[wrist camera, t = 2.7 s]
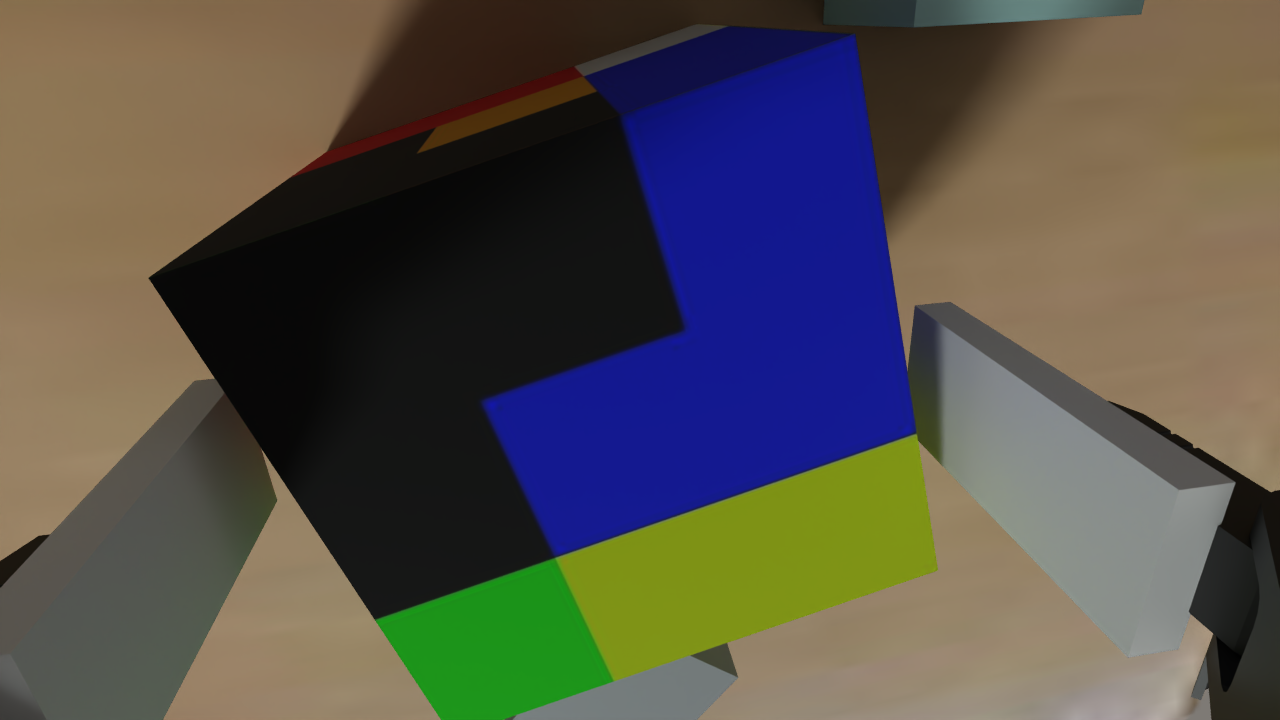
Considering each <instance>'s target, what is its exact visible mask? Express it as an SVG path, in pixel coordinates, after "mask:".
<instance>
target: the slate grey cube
mask: <svg viewBox="0 0 1280 720" xmlns="http://www.w3.org/2000/svg"><path fill="white" fill-rule="evenodd" d="M737 678H738V676H737V673H736V669H735V666H734V663H733V660H732V657H731V654H730V651H729V648H728V645H727V643H725V644H722V645H719V646H716V647H713V648H710V649H708V650H705V651H702V652H699V653H696V654H693V655H690V656H687V657H684V658H681V659H678V660H675V661H673V662H670V663H667V664H664V665H661V666H658V667H655V668H652V669H649V670H646V671H643V672H641V673H638V674H635V675H632V676H629V677H626V678H623V679H620V680H617V681H614V682H611V683H608V684H606V685H603V686H600V687H597V688H594V689H591V690H588V691H585V692H582V693H579V694H576V695H573V696H571V697H568V698H565V699H562V700H559V701H556V702H553V703H550V704H547V705H544V706H541V707H538V708H536V709H533V710H530V711H527V712H524V713H521V714H518V715H515V716H512V717H509V718H506V719H504V720H697V719H698V718H699V717H700V716H701V715H702V714H703V713H704V712H705V711H706V710H707V709H708V708H709V707H710V706H711V705H712V704H713V703H714V702H715V701H716V700H717V699H718V698H719V697H720V696H721V695H722V694H723V693H724V692H725V691H726V689H727V688H728V687H729V686H730V685H731V684H732V683H733V682H734V681H735V680H736V679H737Z"/></svg>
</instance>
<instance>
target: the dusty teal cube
mask: <svg viewBox="0 0 1280 720" xmlns="http://www.w3.org/2000/svg"><path fill="white" fill-rule="evenodd" d="M1143 4H1144V0H824V18H823V24H824V25H855V26H886V27H929V26H947V25H964V24H982V23H999V22H1017V21H1034V20H1052V19H1069V18H1087V17H1104V16H1122V15H1139V14H1141V13H1142V9H1143Z"/></svg>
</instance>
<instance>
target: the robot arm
mask: <svg viewBox="0 0 1280 720" xmlns="http://www.w3.org/2000/svg"><path fill="white" fill-rule="evenodd" d="M907 373H908V379H909V386H910V392H911V399H912V405H913V411H914V418H915V424H916V431H917V437H918V441H919V442H920V443H921V444H922V445H923V446H924V447H925V448H926V449H927V450H928V451H929V452H930V453H931V454H932V455H933V457H934V458H935V459H936V460H937V461H938V462H939V463H940V464H941V465H942V466H943V467H944V468H945V469H946V470H947V471H948V472H949V473H950V474H951V475H952V476H953V477H954V478H955V479H956V480H957V481H958V482H959V483H960V484H961V485H962V487H963V488H964V489H965V490H966V491H967V492H968V493H969V494H970V495H971V496H972V497H973V498H974V499H975V500H976V501H977V502H978V503H979V504H980V505H981V506H982V507H983V508H984V509H985V510H986V511H987V512H988V513H989V514H990V515H991V517H992V518H993V519H994V520H995V521H996V522H997V523H998V524H999V525H1000V526H1001V527H1002V528H1003V529H1004V530H1005V531H1006V532H1007V533H1008V534H1009V535H1010V536H1011V537H1012V538H1013V539H1014V540H1015V541H1016V542H1017V543H1018V544H1019V545H1020V546H1021V548H1022V549H1023V550H1024V551H1025V552H1026V553H1027V554H1028V555H1029V556H1030V557H1031V558H1032V559H1033V560H1034V561H1035V562H1036V563H1037V564H1038V565H1039V566H1040V567H1041V568H1042V569H1043V570H1044V571H1045V572H1046V573H1047V574H1048V575H1049V576H1050V578H1051V579H1052V580H1053V581H1054V582H1055V583H1056V584H1057V585H1058V586H1059V587H1060V588H1061V589H1062V590H1063V591H1064V592H1065V593H1066V594H1067V595H1068V596H1069V597H1070V598H1071V599H1072V600H1073V601H1074V602H1075V603H1076V604H1077V605H1078V606H1079V608H1080V609H1081V610H1082V611H1083V612H1084V613H1085V614H1086V615H1087V616H1088V617H1089V618H1090V619H1091V620H1092V621H1093V622H1094V623H1095V624H1096V625H1097V626H1098V627H1099V628H1100V629H1101V630H1102V631H1103V632H1104V633H1105V634H1106V635H1107V636H1108V638H1109V639H1110V640H1111V641H1112V642H1113V643H1114V644H1115V645H1116V646H1117V647H1118V648H1119V649H1120V650H1121V651H1122V652H1123V653H1124V654H1125V655H1126V656H1127V657H1128V658H1129V657H1135V656H1141V655H1147V654H1153V653H1159V652H1165V651H1171V650H1177V649H1179V646H1180V643H1181V640H1182V638H1183V635H1184V632H1185V629H1186V626H1187V623H1188V620H1189V617H1190V614H1191V615H1193V616H1194V617H1195V618H1196V619H1197V620H1198V621H1199V622H1201V623H1202V624H1203V625H1204V626H1205V627H1206V628H1208V629H1209V630H1210V631H1211V632H1212V633H1213V636H1212V639H1211V642H1210V644H1209V647H1208V650H1207V653H1206V655H1205V658H1204V661H1203V664H1202V666H1201V669H1200V672H1199V675H1198V677H1197V680H1196V683H1195V686H1194V689H1193V692H1192V695H1191V697H1193V698H1196V699H1199V700H1201V699H1202V696H1203V694H1204V691H1205V690H1206V689H1208V688H1209V695H1210V708H1211V719H1212V720H1280V490H1277V491H1274V492H1269V491H1268V490H1266V489H1264V488H1263V487H1261V486H1260V485H1258V484H1256V483H1255V482H1253V481H1251V480H1250V479H1248V478H1247V477H1245V476H1243V475H1242V474H1240V473H1239V472H1237V471H1235V470H1234V469H1232V468H1230V467H1229V466H1227V465H1226V464H1224V463H1222V462H1221V461H1219V460H1217V459H1216V458H1214V457H1213V456H1211V455H1209V454H1208V453H1206V452H1204V451H1203V450H1201V449H1200V448H1193V444H1191V443H1190V442H1188V441H1187V440H1185V439H1183V438H1182V437H1180V436H1178V435H1177V434H1171V431H1170V430H1169V429H1167V428H1165V427H1164V426H1162V425H1161V424H1159V423H1157V422H1156V421H1154V420H1152V419H1151V418H1149V417H1148V416H1146V415H1144V414H1142V413H1139V412H1137V411H1134V410H1132V409H1129V408H1126V407H1124V406H1121V405H1118V404H1116V403H1113V402H1110V401H1106V400H1105V399H1103V398H1101V397H1100V396H1098V395H1097V394H1095V393H1094V392H1092V391H1090V390H1089V389H1087V388H1086V387H1084V386H1083V385H1081V384H1079V383H1078V382H1076V381H1075V380H1073V379H1071V378H1070V377H1068V376H1067V375H1065V374H1064V373H1062V372H1060V371H1059V370H1057V369H1056V368H1054V367H1052V366H1051V365H1049V364H1048V363H1046V362H1045V361H1043V360H1041V359H1040V358H1038V357H1037V356H1035V355H1033V354H1032V353H1030V352H1029V351H1027V350H1026V349H1024V348H1022V347H1021V346H1019V345H1018V344H1016V343H1015V342H1013V341H1011V340H1010V339H1008V338H1007V337H1005V336H1003V335H1002V334H1000V333H999V332H997V331H996V330H994V329H992V328H991V327H989V326H988V325H986V324H984V323H983V322H981V321H980V320H978V319H977V318H975V317H973V316H972V315H970V314H969V313H967V312H966V311H964V310H962V309H961V308H959V307H958V306H956V305H954V304H953V303H951V302H945V303H935V304H925V305H916V306H915V309H914V318H913V327H912V336H911V345H910V354H909V363H908V372H907ZM276 502H277V498H276V495H275V492H274V489H273V486H272V482H271V479H270V476H269V473H268V469H267V466H266V463H265V460H264V457H263V453H262V450H261V447H260V446H259V444H258V443H257V441H256V440H255V438H254V437H253V435H252V434H251V432H250V430H249V429H248V427H247V426H246V424H245V423H244V421H243V420H242V418H241V417H240V415H239V414H238V412H237V411H236V409H235V408H234V406H233V405H232V403H231V402H230V400H229V399H228V397H227V396H226V394H225V393H224V391H223V390H222V388H221V387H220V385H219V384H218V382H217V381H216V379H208V380H198V381H194V382H193V383H192V384H191V385H190V386H189V387H188V388H187V389H186V390H185V391H184V393H183V394H182V395H181V396H180V397H179V398H178V399H177V400H176V401H175V402H174V403H173V404H172V405H171V406H170V407H169V409H168V410H167V411H166V412H165V413H164V414H163V415H162V416H161V417H160V418H159V419H158V420H157V421H156V422H155V423H154V425H153V426H152V427H151V428H150V429H149V430H148V431H147V432H146V433H145V434H144V435H143V436H142V437H141V438H140V439H139V441H138V442H137V443H136V444H135V445H134V446H133V447H132V448H131V449H130V450H129V451H128V452H127V453H126V454H125V455H124V457H123V458H122V459H121V460H120V461H119V462H118V463H117V464H116V465H115V466H114V467H113V468H112V469H111V470H110V471H109V473H108V474H107V475H106V476H105V477H104V478H103V479H102V480H101V481H100V482H99V483H98V484H97V485H96V486H95V487H94V489H93V490H92V491H91V492H90V493H89V494H88V495H87V496H86V497H85V498H84V499H83V500H82V501H81V502H80V503H79V505H78V506H77V507H76V508H75V509H74V510H73V511H72V512H71V513H70V514H69V515H68V516H67V517H66V518H65V519H64V521H63V522H62V523H61V524H60V525H59V526H58V527H57V528H56V529H55V530H54V531H53V532H52V533H51V534H50V535H42V536H38V537H36V538H35V539H33V540H32V541H30V542H29V543H27V544H26V545H24V546H23V547H21V548H20V549H18V550H17V551H15V552H14V553H12V554H10V555H9V556H7V557H6V558H4V559H3V560H1V561H0V720H163V718H164V716H165V715H166V713H167V711H168V709H169V707H170V705H171V703H172V701H173V699H174V697H175V695H176V693H177V692H178V690H179V688H180V686H181V684H182V682H183V680H184V678H185V676H186V674H187V672H188V670H189V669H190V667H191V665H192V663H193V661H194V659H195V657H196V655H197V653H198V651H199V649H200V648H201V646H202V644H203V642H204V640H205V638H206V636H207V634H208V632H209V630H210V628H211V626H212V625H213V623H214V621H215V619H216V617H217V615H218V613H219V611H220V609H221V607H222V605H223V603H224V602H225V600H226V598H227V596H228V594H229V592H230V590H231V588H232V586H233V584H234V582H235V580H236V579H237V577H238V575H239V573H240V571H241V569H242V567H243V565H244V563H245V561H246V559H247V557H248V556H249V554H250V552H251V550H252V548H253V546H254V544H255V542H256V540H257V538H258V536H259V534H260V533H261V531H262V529H263V527H264V525H265V523H266V521H267V519H268V517H269V515H270V513H271V511H272V510H273V508H274V506H275V504H276Z"/></svg>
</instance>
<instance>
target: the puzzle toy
mask: <svg viewBox="0 0 1280 720" xmlns="http://www.w3.org/2000/svg"><path fill="white" fill-rule="evenodd" d="M149 280H150V281H151V283H152V284H153V286H154V287H155V289H156V290H157V292H158V293H159V295H160V296H161V298H162V299H163V301H164V302H165V304H166V305H167V307H168V308H169V310H170V311H171V313H172V314H173V316H174V317H175V319H176V320H177V322H178V323H179V325H180V326H181V328H182V329H183V331H184V332H185V334H186V335H187V337H188V338H189V340H190V341H191V343H192V344H193V346H194V347H195V349H196V350H197V352H198V354H199V355H200V357H201V358H202V360H203V361H204V363H205V364H206V366H207V367H208V369H209V370H210V372H211V373H212V375H213V376H214V378H215V379H216V381H217V382H218V384H219V385H220V387H221V388H222V390H223V391H224V393H225V394H226V396H227V397H228V399H229V400H230V402H231V403H232V405H233V406H234V408H235V409H236V411H237V412H238V414H239V415H240V417H241V418H242V420H243V421H244V423H245V424H246V426H247V427H248V429H249V430H250V432H251V434H252V435H253V437H254V438H255V440H256V441H257V443H258V444H259V446H260V447H261V449H262V450H263V452H264V453H265V455H266V456H267V458H268V459H269V461H270V462H271V464H272V465H273V467H274V468H275V470H276V471H277V473H278V474H279V476H280V477H281V479H282V480H283V482H284V483H285V485H286V486H287V488H288V489H289V491H290V492H291V494H292V495H293V497H294V498H295V500H296V501H297V503H298V504H299V506H300V507H301V509H302V510H303V512H304V514H305V515H306V517H307V518H308V520H309V521H310V523H311V524H312V526H313V527H314V529H315V530H316V532H317V533H318V535H319V536H320V538H321V539H322V541H323V542H324V544H325V545H326V547H327V548H328V550H329V551H330V553H331V554H332V556H333V557H334V559H335V560H336V562H337V563H338V565H339V566H340V568H341V569H342V571H343V572H344V574H345V575H346V577H347V578H348V580H349V581H350V583H351V584H352V586H353V587H354V589H355V591H356V592H357V594H358V595H359V597H360V598H361V600H362V601H363V603H364V604H365V606H366V607H367V609H368V610H369V612H370V613H371V615H372V616H373V618H374V619H375V621H376V622H377V624H378V625H379V627H380V628H381V630H382V631H383V633H384V634H385V636H386V637H387V639H388V640H389V642H390V643H391V645H392V646H393V648H394V649H395V651H396V652H397V654H398V655H399V657H400V658H401V660H402V661H403V663H404V664H405V666H406V667H407V669H408V671H409V672H410V674H411V675H412V677H413V678H414V680H415V681H416V683H417V684H418V686H419V687H420V689H421V690H422V692H423V693H424V695H425V696H426V698H427V699H428V701H429V702H430V704H431V705H432V707H433V708H434V710H435V711H436V713H437V714H438V716H439V717H440V719H441V720H504V719H506V718H509V717H512V716H515V715H518V714H521V713H524V712H527V711H530V710H533V709H536V708H538V707H541V706H544V705H547V704H550V703H553V702H556V701H559V700H562V699H565V698H568V697H571V696H573V695H576V694H579V693H582V692H585V691H588V690H591V689H594V688H597V687H600V686H603V685H606V684H608V683H611V682H614V681H617V680H620V679H623V678H626V677H629V676H632V675H635V674H638V673H641V672H643V671H646V670H649V669H652V668H655V667H658V666H661V665H664V664H667V663H670V662H673V661H675V660H678V659H681V658H684V657H687V656H690V655H693V654H696V653H699V652H702V651H705V650H708V649H710V648H713V647H716V646H719V645H722V644H725V643H728V642H731V641H734V640H737V639H740V638H743V637H745V636H748V635H751V634H754V633H757V632H760V631H763V630H766V629H769V628H772V627H775V626H778V625H780V624H783V623H786V622H789V621H792V620H795V619H798V618H801V617H804V616H807V615H810V614H812V613H815V612H818V611H821V610H824V609H827V608H830V607H833V606H836V605H839V604H842V603H845V602H847V601H850V600H853V599H856V598H859V597H862V596H865V595H868V594H871V593H874V592H877V591H880V590H882V589H885V588H888V587H891V586H894V585H897V584H900V583H903V582H906V581H909V580H912V579H914V578H917V577H920V576H923V575H926V574H929V573H932V572H935V571H938V567H937V561H936V554H935V548H934V541H933V535H932V528H931V522H930V515H929V509H928V502H927V496H926V489H925V483H924V476H923V470H922V463H921V457H920V450H919V444H918V437H917V431H916V424H915V418H914V411H913V405H912V399H911V392H910V386H909V379H908V373H907V366H906V360H905V353H904V347H903V340H902V334H901V327H900V321H899V314H898V308H897V301H896V295H895V288H894V282H893V275H892V269H891V262H890V256H889V249H888V243H887V236H886V230H885V223H884V217H883V210H882V204H881V197H880V191H879V184H878V178H877V171H876V165H875V158H874V152H873V145H872V139H871V133H870V126H869V120H868V113H867V107H866V100H865V94H864V87H863V81H862V74H861V68H860V61H859V55H858V48H857V42H856V35H855V34H854V33H837V32H821V31H805V30H789V29H772V28H756V27H740V26H724V25H707V24H695V25H692V26H689V27H686V28H684V29H681V30H678V31H675V32H672V33H669V34H666V35H663V36H660V37H658V38H655V39H652V40H649V41H646V42H643V43H640V44H637V45H634V46H631V47H629V48H626V49H623V50H620V51H617V52H614V53H611V54H608V55H605V56H603V57H600V58H597V59H594V60H591V61H588V62H585V63H582V64H579V65H577V66H574V67H571V68H568V69H565V70H562V71H559V72H556V73H553V74H551V75H548V76H545V77H542V78H539V79H536V80H533V81H530V82H527V83H525V84H522V85H519V86H516V87H513V88H510V89H507V90H504V91H501V92H499V93H496V94H493V95H490V96H487V97H484V98H481V99H478V100H475V101H472V102H470V103H467V104H464V105H461V106H458V107H455V108H452V109H449V110H446V111H444V112H441V113H438V114H435V115H432V116H429V117H426V118H423V119H420V120H418V121H415V122H412V123H409V124H406V125H403V126H400V127H397V128H394V129H392V130H389V131H386V132H383V133H380V134H377V135H374V136H371V137H368V138H366V139H363V140H360V141H357V142H354V143H351V144H348V145H345V146H342V147H340V148H337V149H334V150H331V151H328V152H326V153H324V154H323V155H322V156H320V157H319V158H317V159H316V160H314V161H313V162H312V163H310V164H309V165H307V166H306V167H305V168H303V169H302V170H300V171H299V172H297V173H296V174H295V175H293V176H292V177H290V178H289V179H288V180H286V181H285V182H283V183H282V184H281V185H279V186H278V187H276V188H275V189H273V190H272V191H271V192H269V193H268V194H266V195H265V196H264V197H262V198H261V199H259V200H258V201H256V202H255V203H254V204H252V205H251V206H249V207H248V208H247V209H245V210H244V211H242V212H241V213H239V214H238V215H237V216H235V217H234V218H232V219H231V220H230V221H228V222H227V223H225V224H224V225H223V226H221V227H220V228H218V229H217V230H215V231H214V232H213V233H211V234H210V235H208V236H207V237H206V238H204V239H203V240H201V241H200V242H198V243H197V244H196V245H194V246H193V247H191V248H190V249H189V250H187V251H186V252H184V253H183V254H182V255H180V256H179V257H177V258H176V259H174V260H173V261H172V262H170V263H169V264H167V265H166V266H165V267H163V268H162V269H160V270H159V271H157V272H156V273H155V274H153V275H152V276H150V277H149Z"/></svg>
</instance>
